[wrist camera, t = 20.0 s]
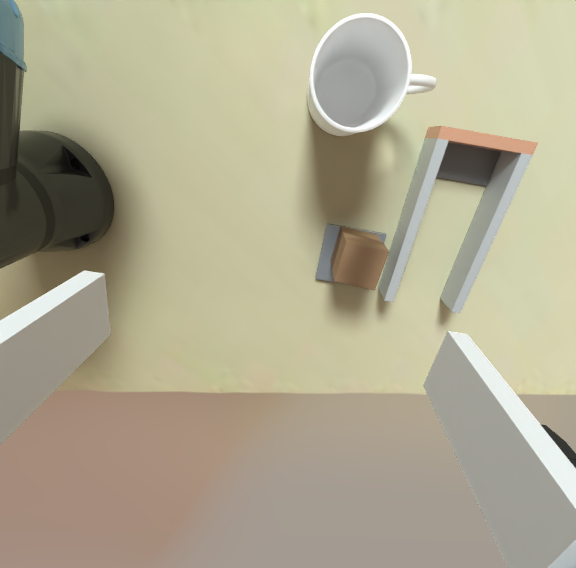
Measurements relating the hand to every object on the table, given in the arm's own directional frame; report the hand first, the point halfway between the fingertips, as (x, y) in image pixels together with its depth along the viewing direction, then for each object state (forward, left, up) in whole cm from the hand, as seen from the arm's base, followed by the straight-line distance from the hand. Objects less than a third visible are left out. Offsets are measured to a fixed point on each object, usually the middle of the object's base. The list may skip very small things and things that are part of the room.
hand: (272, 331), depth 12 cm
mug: (+5, +12, -32) cm, 34 cm away
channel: (+19, -1, -32) cm, 37 cm away
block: (+9, -6, -31) cm, 33 cm away
